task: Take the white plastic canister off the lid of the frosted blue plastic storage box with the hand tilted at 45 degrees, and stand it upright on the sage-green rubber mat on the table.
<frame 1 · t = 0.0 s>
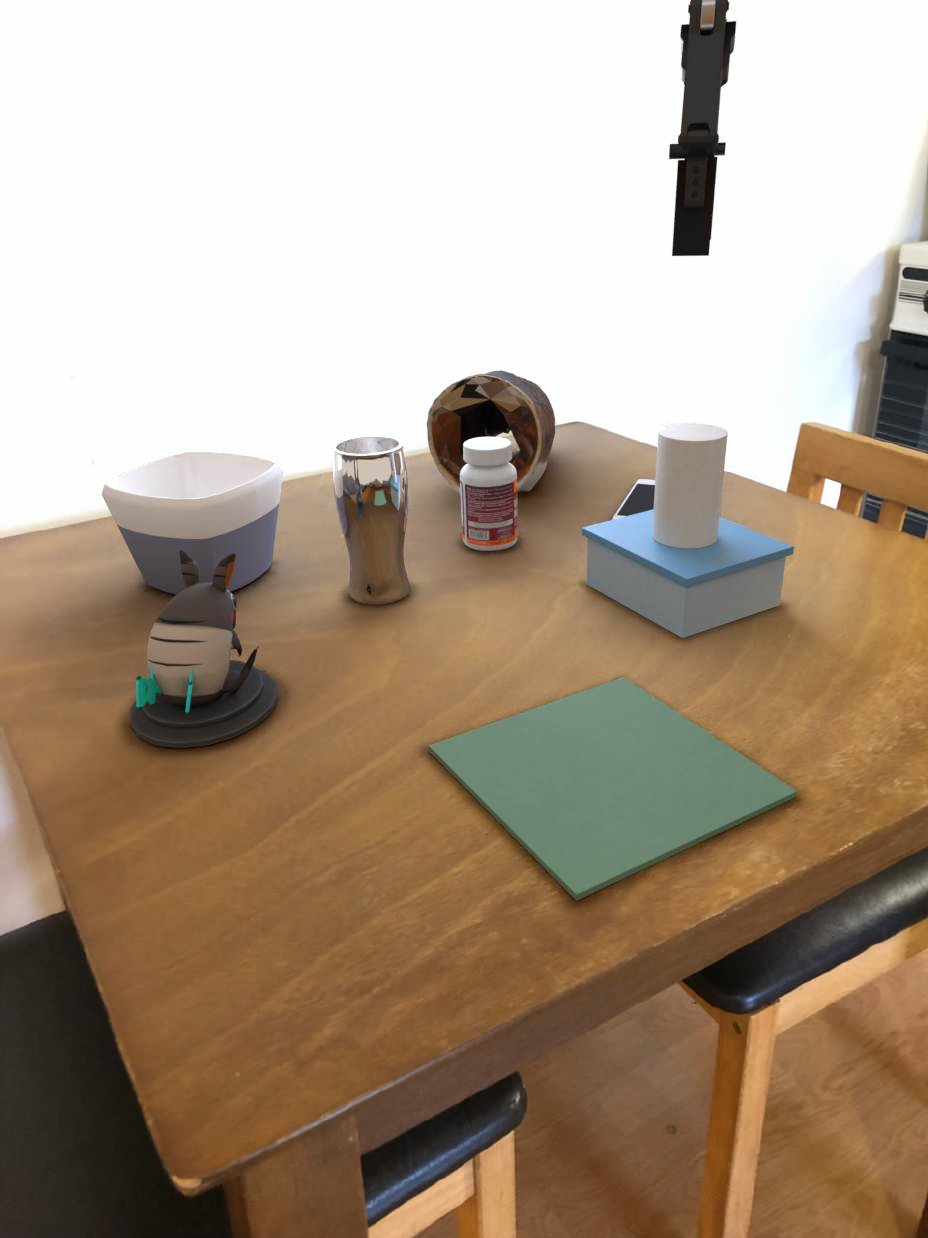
hand: (692, 247, 76), 31 cm above the table, tool pointing down, fingers open, 13 cm apart
bowl: (210, 576, 98), on the table
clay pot: (506, 474, 126), on the table
beer glass: (379, 593, 93), on the table
figurine: (207, 709, 74), on the table
mat: (603, 773, 65), on the table
smartphone: (654, 508, 112), on the table
storage box: (680, 594, 90), on the table
white canister: (684, 536, 87), point 6 cm above the table, touching storage box
pill bottle: (489, 544, 104), on the table
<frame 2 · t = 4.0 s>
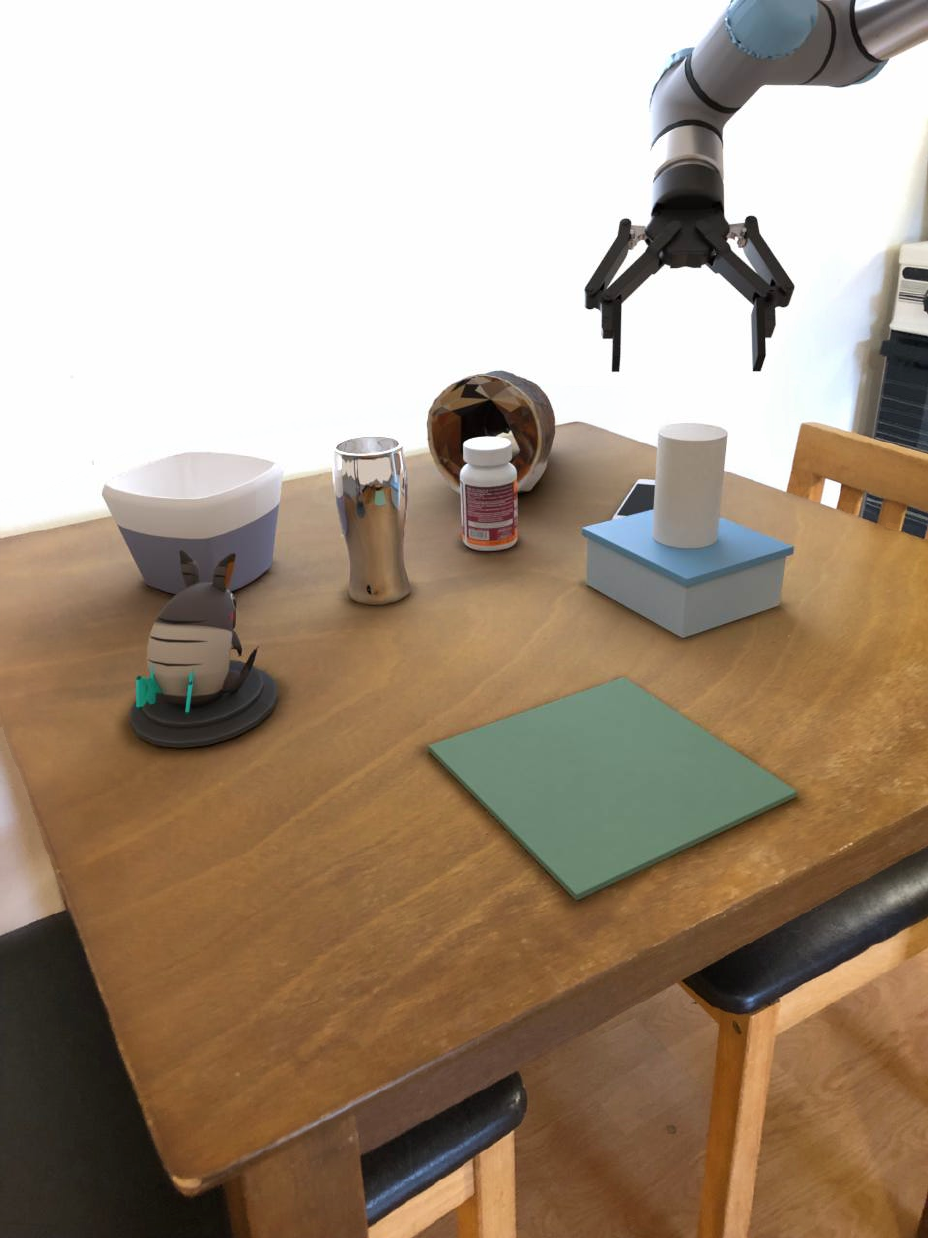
hand: (686, 364, 90), 20 cm above the table, tool tilted 45°, fingers open, 13 cm apart
nothing on the table moved.
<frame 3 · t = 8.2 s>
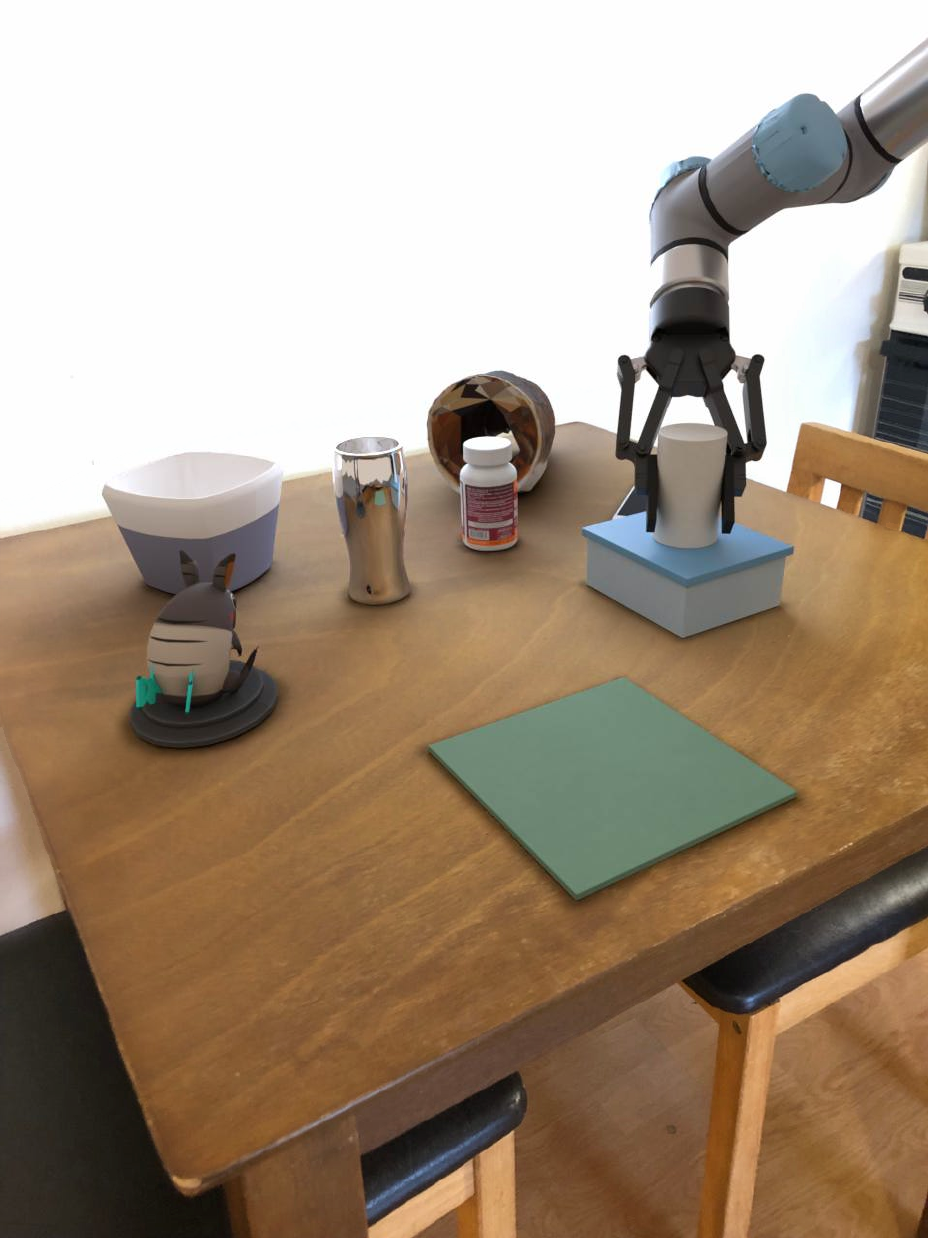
hand: (689, 526, 83), 8 cm above the table, tool tilted 45°, fingers closed on white canister, 6 cm apart
white canister: (684, 536, 87), point 6 cm above the table, touching gripper, storage box
everything else where it was.
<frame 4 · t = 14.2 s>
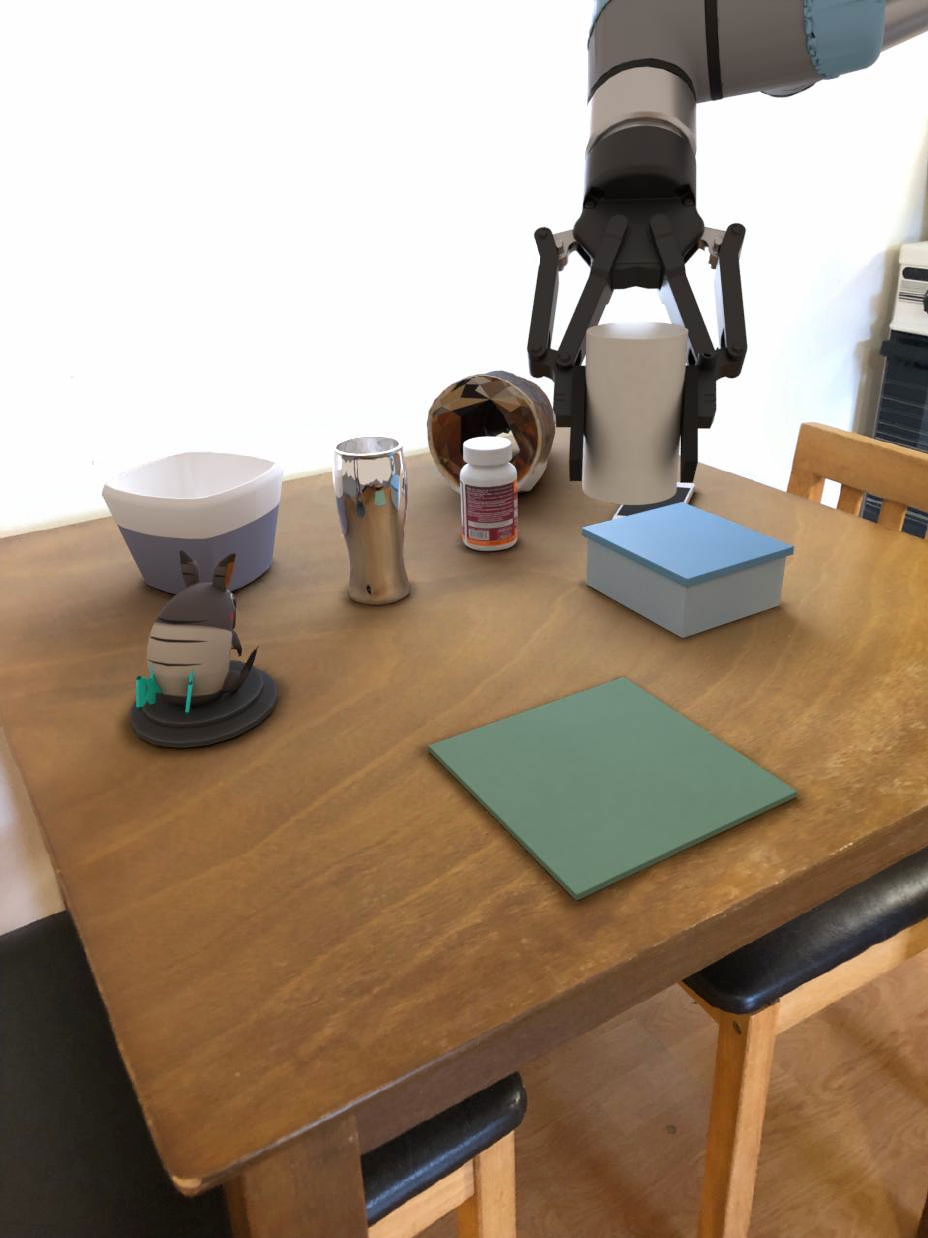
hand: (631, 471, 56), 21 cm above the table, tool tilted 45°, fingers closed on white canister, 6 cm apart
white canister: (628, 489, 60), point 19 cm above the table, touching gripper
everything else where it was.
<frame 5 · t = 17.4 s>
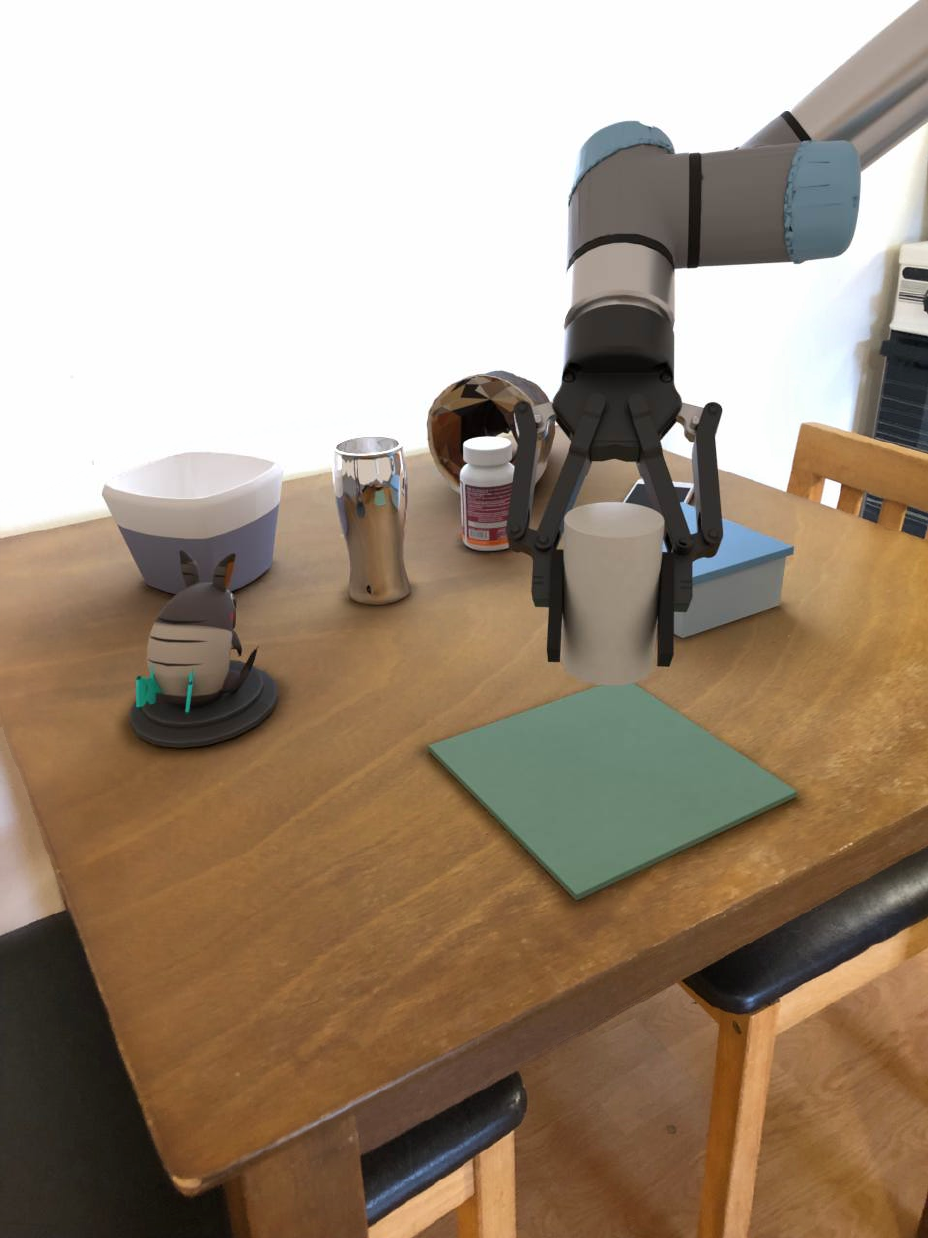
hand: (609, 657, 57), 11 cm above the table, tool tilted 45°, fingers closed on white canister, 6 cm apart
white canister: (607, 662, 61), point 9 cm above the table, touching gripper
everything else where it was.
when the fingers open (3 cm above the table, at t = 20.1 s): white canister stays where it is, resting on mat.
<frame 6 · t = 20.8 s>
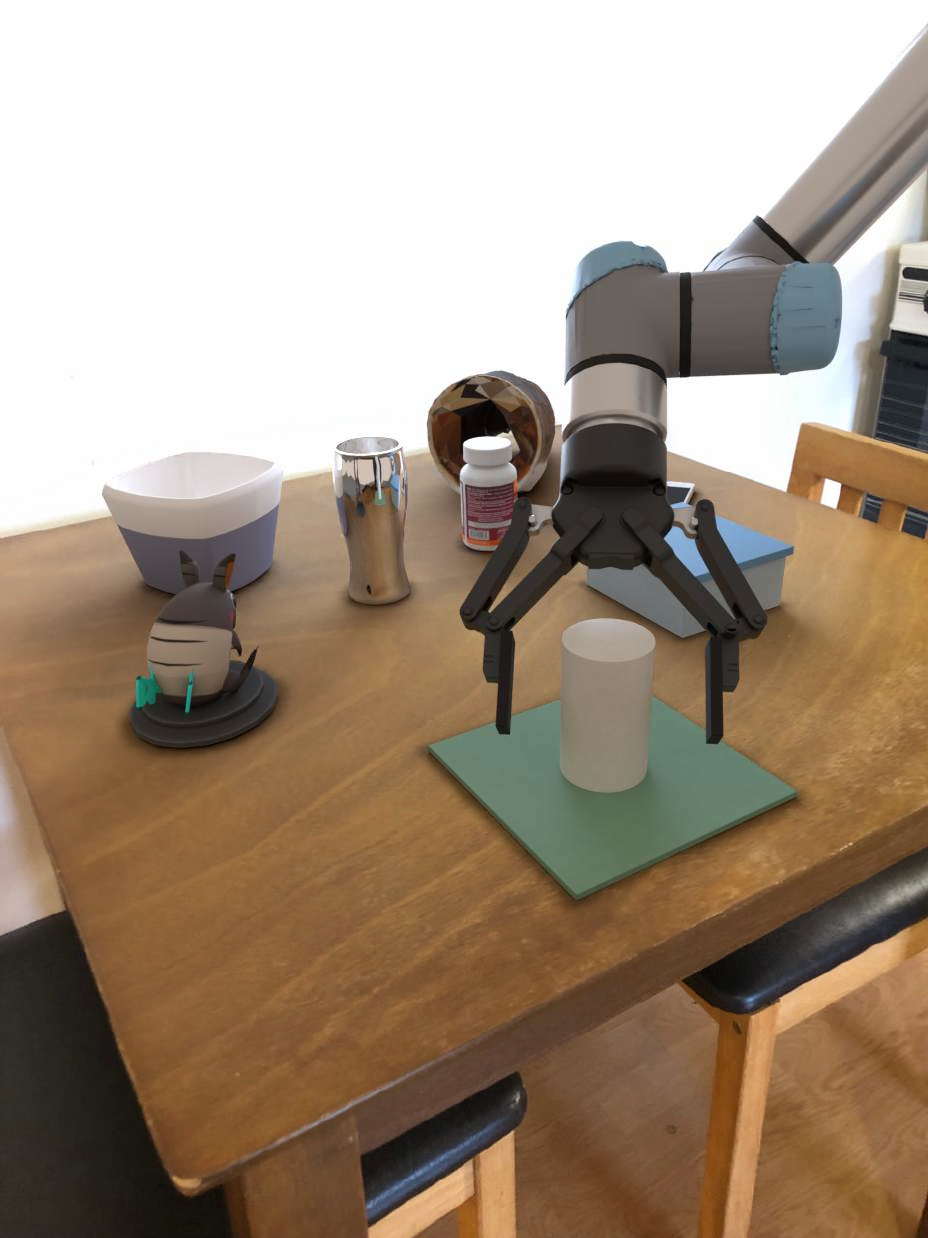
hand: (607, 736, 61), 5 cm above the table, tool tilted 45°, fingers open, 13 cm apart
white canister: (603, 766, 65), resting on mat
everything else where it was.
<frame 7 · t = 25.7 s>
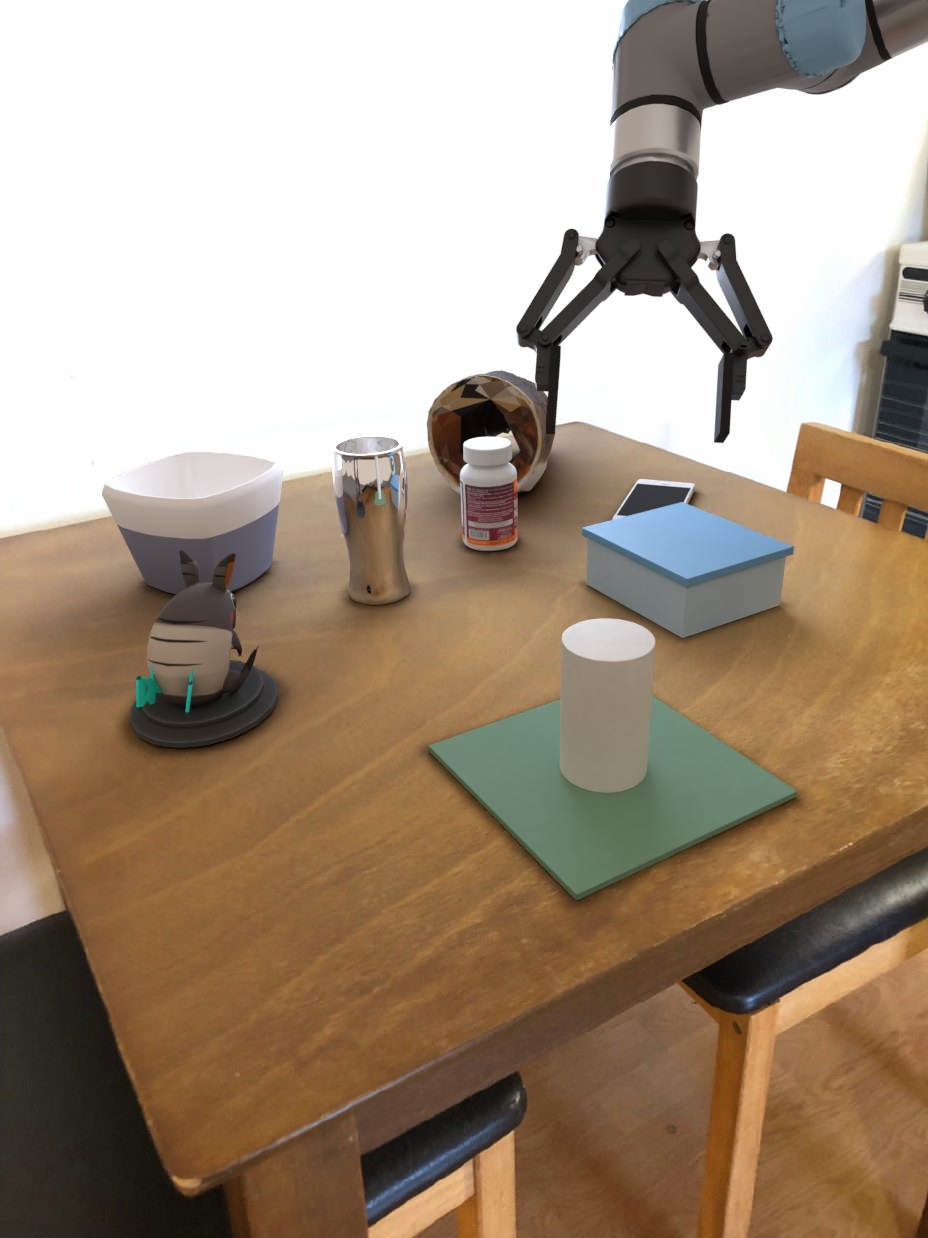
hand: (635, 434, 75), 18 cm above the table, tool tilted 30°, fingers open, 13 cm apart
nothing on the table moved.
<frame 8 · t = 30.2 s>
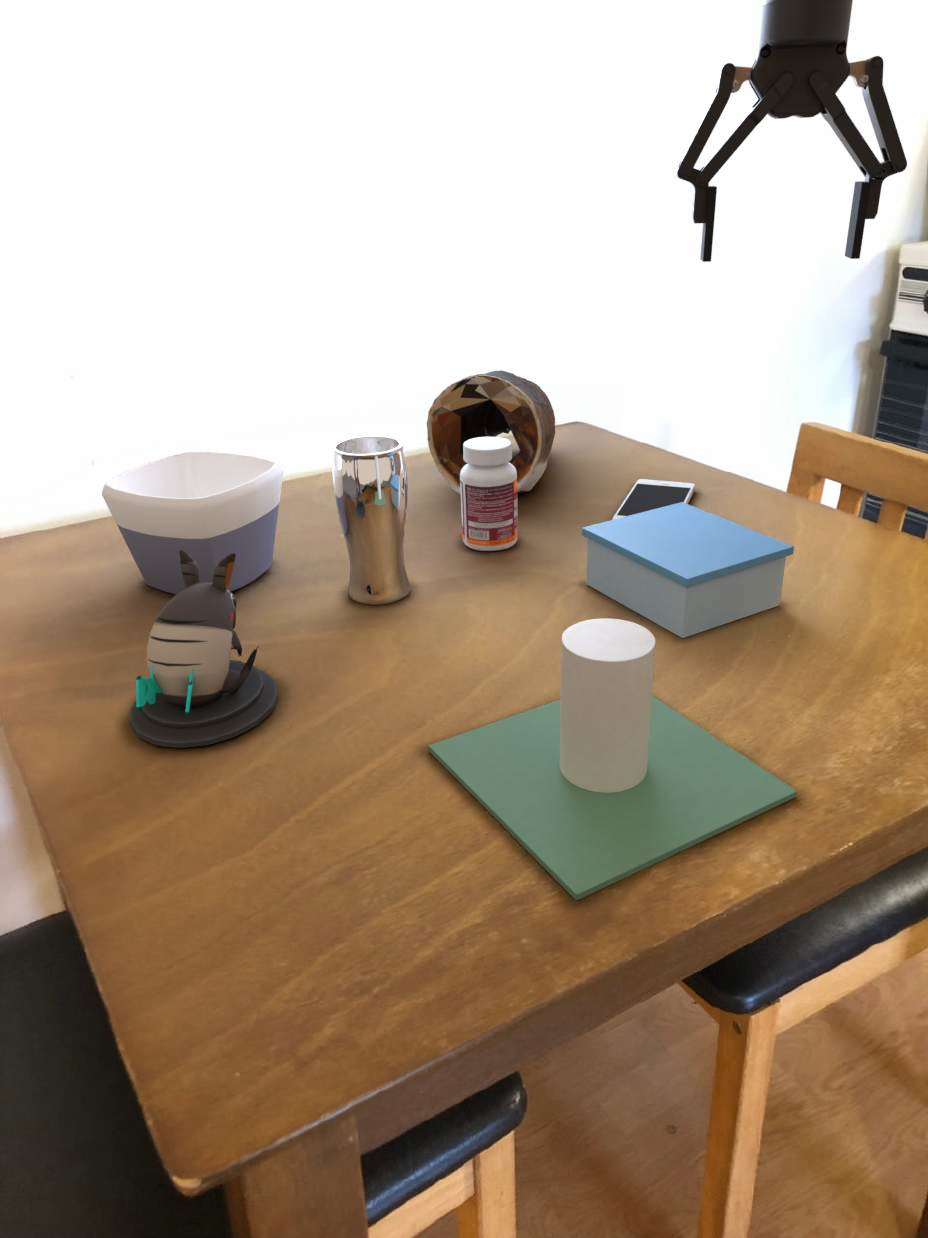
hand: (778, 259, 90), 29 cm above the table, tool pointing down, fingers open, 13 cm apart
nothing on the table moved.
at the end: white canister inside the target area on the mat (0.1 cm from its centre), point 0.5 cm above the mat's base; white canister tilted 0°; the gripper is holding nothing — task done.
